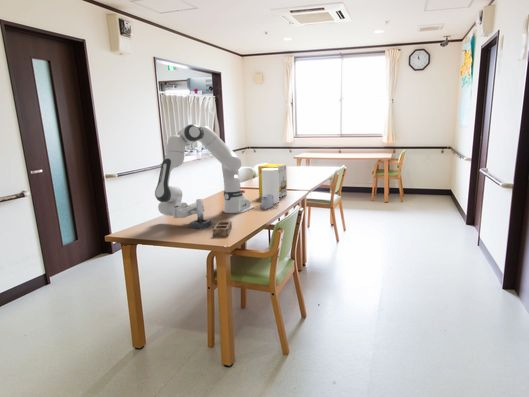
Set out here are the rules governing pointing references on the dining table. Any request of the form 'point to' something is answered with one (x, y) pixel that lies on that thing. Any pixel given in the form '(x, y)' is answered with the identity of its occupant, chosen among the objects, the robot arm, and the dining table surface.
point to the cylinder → (270, 183)
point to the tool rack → (222, 229)
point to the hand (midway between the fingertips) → (201, 211)
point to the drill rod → (200, 208)
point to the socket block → (200, 224)
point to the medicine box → (267, 201)
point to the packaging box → (281, 178)
